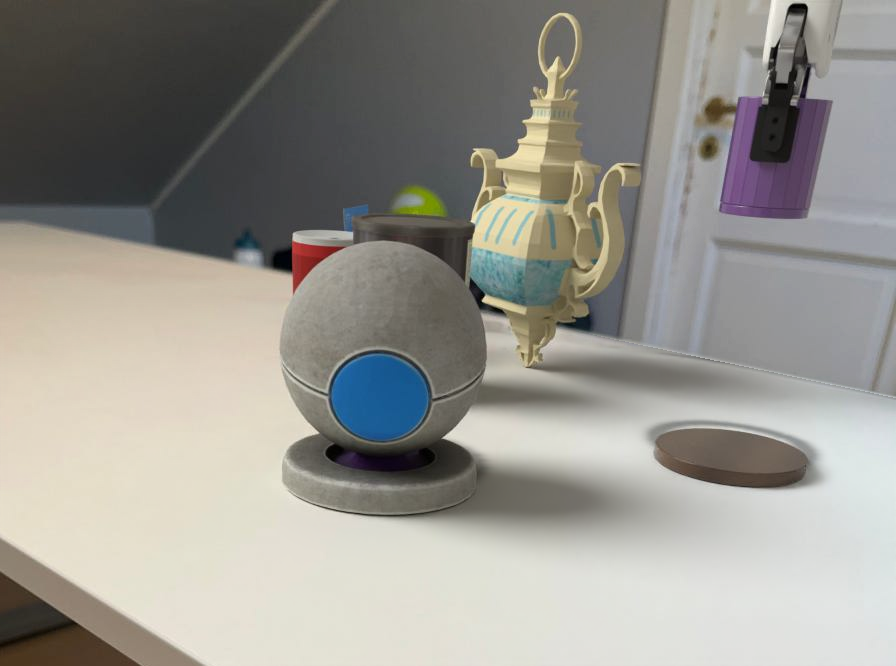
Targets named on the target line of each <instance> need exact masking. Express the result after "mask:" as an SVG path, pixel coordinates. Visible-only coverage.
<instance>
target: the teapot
mask: <svg viewBox="0 0 896 666" xmlns="http://www.w3.org/2000/svg"><path fill="white" fill-rule="evenodd" d="M563 17H564V18H566V19H567V20H568V21H569V22H570V24H571V26H572V27H573V30H574V35H575V48H574V52H573V57H572V59H571V61H570V64H569V66H568V67H567V68H565V66H564V64H563V61H562V58H561V56H556V58H555V59H554V61H553V63H552V65H550V67H549V68H548V66H547V64H546V63H547V62H546V58H545V47H546V41H547V37H548V35H549V32H550V31H551V28H552V27H553V26H554V25H555V23H556V22H557V21H559V20H560V19H561V18H563ZM582 50H583V31H582V28H581V25H580V23H579V21H578V19H577V18H576V16H574V15H573V14H570V13H568V12H558V13H557V14H555V15H553V16H551V17H550V19H548V21H547V22H546V23H545V25H544V27H543V29H542V31H541V34H540V37H539V41H538V48H537V55H538V64H539V67H540V70H541V72H542V74H543V75H544V77H546V78H547V90H546V91H545V89H544V88H540V89H539V87H538V86H533V89H532V91H533V92H534V94H535V95H536V99H530V100H529V102H530V107H531V108H532V115H531V117H530V118H528V119H523V120H522V124H524V125H525V128H526V135H525V137H523V138H519V139H517V144H518V149H517V150H516V152H515V153H513V154H512V155H510V156H508V157H505V158H499V156H498V155H497V153H496V151H495V150H493V148H484V147H483V148H482V147H481V148H476V147H475V148H473V149H472V150H473V151H474V152H473V153H472V154H471V157H470V166H471V168H478V169H481V168H483V181H482V184H481V188H480V191H479V193H478V196H477V198H476V201H475V204H474V207H473V209H472V212H471V220H469V221H470V222H472V223H474V224H475V232H474V234H473V242H472V255H471V269H470V280H472V281H473V283H475V284H476V286H477V287H478V288H479V289H480V290H481V291H482V292H483V294H484V297H483V298H482V299H481V302H482V303H483V304H486V305H488V306H491V307H493V308H497V309H500V310H502V311H503V313H505V315H506V317H507V318H508V320H509V327H510V328H511V331H512V333H513V335H514V337H515V339H516V340H517V342H518V343H519V344H518V345H516V348H515V351H514V354H515V355H517V356H518V357H519V359H520V361H521V363H522V364H523V366H524V367H525V368H530V367H533V366H535V365H536V364H537V363H542V362H543V361H544V359H543V357H544V353H542V352H541V351H540V350H541V349H542V348H544V347H546V346H547V345H548V344H549V343H550V342H551V341H552V340H553V339H554V338H555V337H556V333H557V323H558V322H559V323H562V324H563V323H566V324H567V323H575V322H577V320H576V318H583V317H587V316H588V315H590V309H589V305H588V304H587V302H585V301H586V300H588V299H589V298H592V297H594V296H595V297H596V296H597V295H599V294H600V293H602V292H603V291H604V290H605V289H607V288H608V286H609V285H610V283H611V282H612V281H613V280H614V278H615V276H616V274H617V272H618V269H619V267H620V265H621V263H622V261H623V257H624V256H623V255H624V253H625V245H626V236H625V231H624V230H625V229H624V224H623V220H622V217H621V216H622V215H621V212H620V207H619V206H620V205H619V193H620V192H619V191H620V186H621V187H628V188H630V187H631V188H632V187H640V186H641V182H642V171H641V170H640V168H638V167H641V166H642V165H641V164H640V163H635V162H617V163H615V164H614V165H612V166H611V167H610V168H609V169H608V171H606V173H605V174H604V176H603V178H602V180H601V182H600V185H599V190H598V197H597V201H594V202H590V203H589V204H588V203H587V201H586V199H588V198H589V197H590V196H591V195H592V193H593V191H594V189H595V183H596V181H595V176H596V175H597V176H598V175H599V174H601V173H602V166H601V165H597V164H593V163H591V162H589V161H587V160H586V158H584V157H583V156H582V152H581V148H582V147H583V146H584V145H583V144H584V143H583V142H582V141H579V140H578V139H576V134H577V133H576V132H577V130H578V129H579V128H580V127H581V126H583V123H582V122H579V121H576V120H575V118H574V113H575V110H577V107H578V105H579V104H580V101H576V100H573V99H574V97H575V96H576V95H577V94H578V93H579V89H576V88H575V89H570V88H569V89H567V90H566V91H565V93H564V86H565V82H566V79H567V78H568V77H570V76H571V75H572V73H573V72H574V71H575V69H576V67H577V65H578V63H579V61H580V59H581V53H582ZM502 172H503V173H502ZM502 180H503V184H504V186H505V187H504V186H501V184H502Z"/></svg>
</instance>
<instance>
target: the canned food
mask: <svg viewBox="0 0 896 666" xmlns="http://www.w3.org/2000/svg"><path fill="white" fill-rule="evenodd" d="M291 239H292V240H291V243H292V245H291V247H292V248H291V249H292V250H291V258H292V259H291V262H292V263H291V264H292V265H291V266H292V270H291V271H292V296H293V295H294V293H295V291H296V289H297V288H298V286H299V285H300V283H301V282H302V281H303V279H304V278H305V277H306V276H307V275H308V273H309V272H310V271H311V270H312V269H313V268H314V267H315V266H316V265H317V264H319V263H320V262H321V261H323V260H324V259H326V258H327V257H329V256H330V255H332V254H333V253H335V252H337V251H340V250H342V249H344V248H346V247H349V246H352V245H353V232H347V231H344V230H333V229H331V230H330V229H308V230H298V231H294V232H293V233H292V238H291Z"/></svg>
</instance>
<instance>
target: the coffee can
mask: <svg viewBox="0 0 896 666" xmlns="http://www.w3.org/2000/svg"><path fill="white" fill-rule="evenodd" d="M470 221H471V220H467V219H462V218H457V217H456V218H455V217H448V216H441V215H431V214H430V215H429V214H417V213H415V214H414V213H397V212H395V213H394V212H371V213H369V212H368V214H358V215H355V216H353V217H352V227H353V245H356V244H360V243H364V242H371V241H393V242H401V243H405V244H410V245H414V246H416V247H418V248H421V249H423V250H425V251H427V252H429V253H431V254H433V255H435V256H437V257H438V258H439V259H441V260H442V261H444V262H445V263H446V264H448V265H449V266H450V267H451V268H452V269H453V270H454V271H455V272H456V273H457V274H458V275H459V276H460V277H461V279H462V280H463V281H464V282H465V284H466V285H467V287H468V288H469V289H470V282H471V277H470V269H471V255H472V242H473V234H474V232H475V224H474V223H472V222H470Z"/></svg>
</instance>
